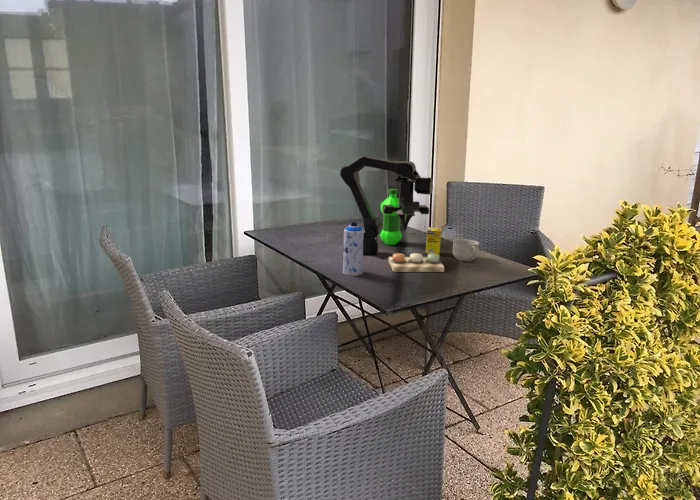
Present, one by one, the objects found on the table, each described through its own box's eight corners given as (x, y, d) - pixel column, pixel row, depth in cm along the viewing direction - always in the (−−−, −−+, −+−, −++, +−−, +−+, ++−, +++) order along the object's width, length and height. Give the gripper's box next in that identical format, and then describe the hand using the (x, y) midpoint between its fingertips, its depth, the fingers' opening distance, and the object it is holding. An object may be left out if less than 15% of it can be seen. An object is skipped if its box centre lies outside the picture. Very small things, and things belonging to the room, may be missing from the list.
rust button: (393, 262, 237) (393, 256, 237) (391, 258, 242) (392, 253, 241) (405, 262, 238) (405, 256, 237) (403, 258, 242) (403, 253, 242)
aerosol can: (339, 270, 233) (340, 220, 228) (358, 268, 236) (359, 219, 231) (346, 276, 226) (348, 224, 221) (365, 274, 229) (367, 223, 224)
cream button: (411, 262, 238) (411, 256, 237) (408, 258, 243) (409, 253, 242) (423, 262, 238) (423, 256, 238) (420, 258, 243) (421, 253, 242)
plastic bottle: (376, 244, 272) (378, 190, 266) (384, 239, 282) (386, 186, 275) (397, 247, 269) (400, 192, 262) (404, 242, 278) (407, 188, 272)
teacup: (449, 255, 258) (450, 237, 256) (473, 255, 259) (475, 237, 257) (457, 265, 244) (458, 246, 242) (483, 265, 245) (485, 246, 243)
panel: (393, 271, 234) (393, 266, 233) (388, 261, 247) (388, 256, 246) (444, 271, 235) (444, 266, 235) (436, 261, 249) (437, 256, 248)
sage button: (428, 262, 238) (428, 256, 238) (426, 258, 243) (426, 253, 242) (440, 262, 239) (440, 256, 238) (437, 259, 243) (438, 253, 243)
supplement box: (439, 256, 257) (441, 231, 254) (425, 255, 258) (426, 230, 255) (440, 252, 262) (441, 228, 260) (426, 251, 264) (427, 227, 261)
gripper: (386, 196, 237) (384, 234, 242) (433, 196, 239) (430, 234, 243) (382, 191, 248) (381, 227, 252) (427, 191, 250) (425, 228, 254)
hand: (404, 229), depth 250 cm, fingers closed
